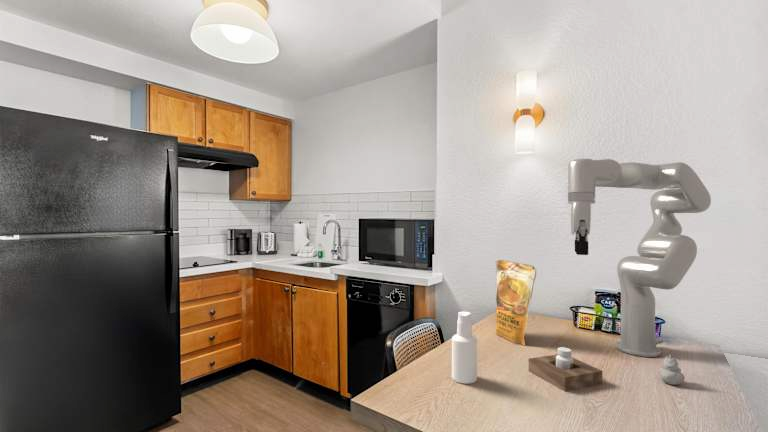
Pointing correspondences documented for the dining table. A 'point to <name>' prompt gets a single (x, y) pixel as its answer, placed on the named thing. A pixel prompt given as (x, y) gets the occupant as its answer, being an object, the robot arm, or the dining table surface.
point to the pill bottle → (564, 358)
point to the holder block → (565, 373)
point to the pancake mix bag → (513, 299)
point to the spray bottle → (464, 351)
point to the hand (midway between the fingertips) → (581, 253)
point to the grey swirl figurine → (671, 372)
